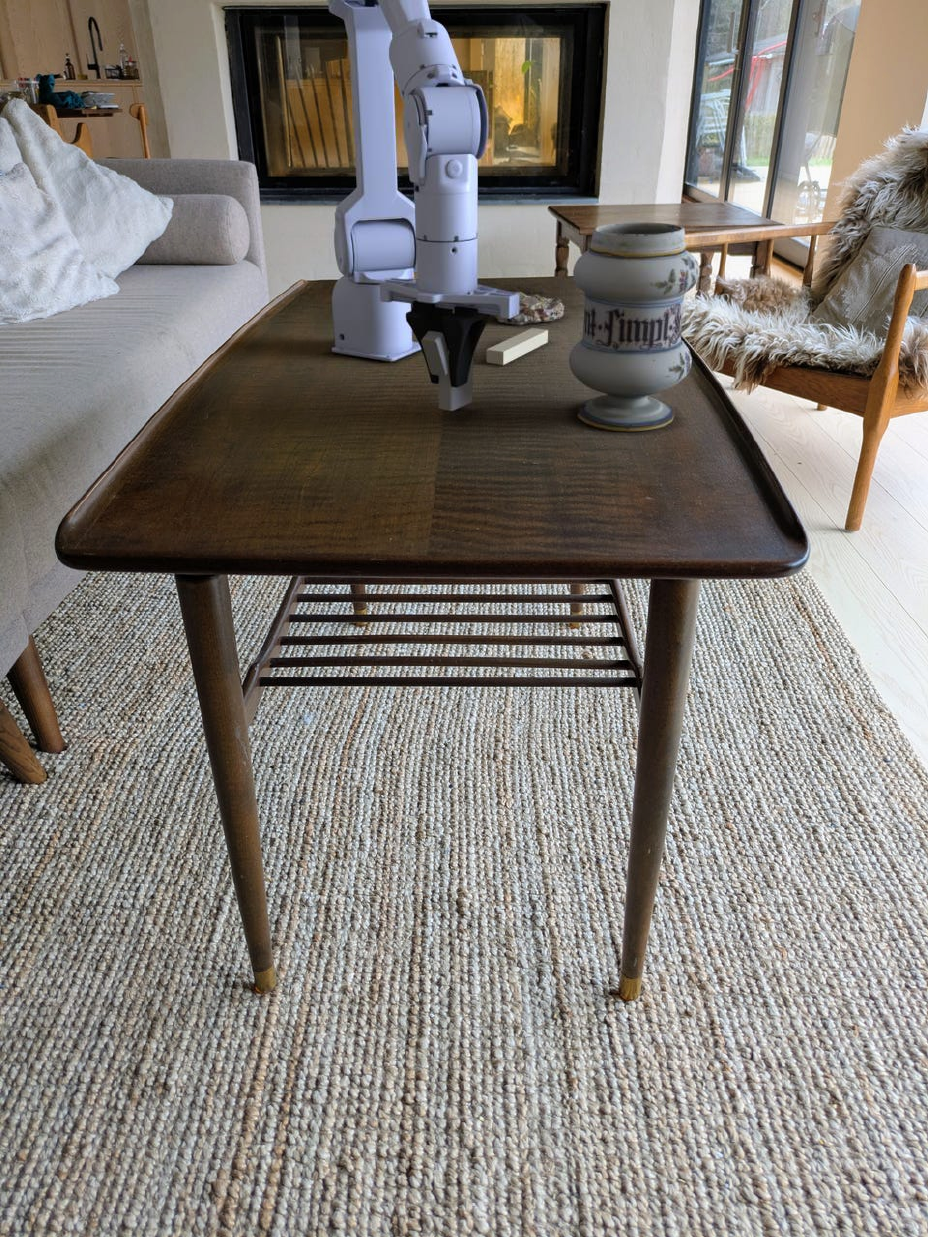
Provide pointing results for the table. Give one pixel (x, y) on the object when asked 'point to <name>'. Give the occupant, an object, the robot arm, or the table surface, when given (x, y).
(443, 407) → the lighter
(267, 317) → the table surface
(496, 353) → the strip
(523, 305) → the mineral rock
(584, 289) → the apothecary jar
